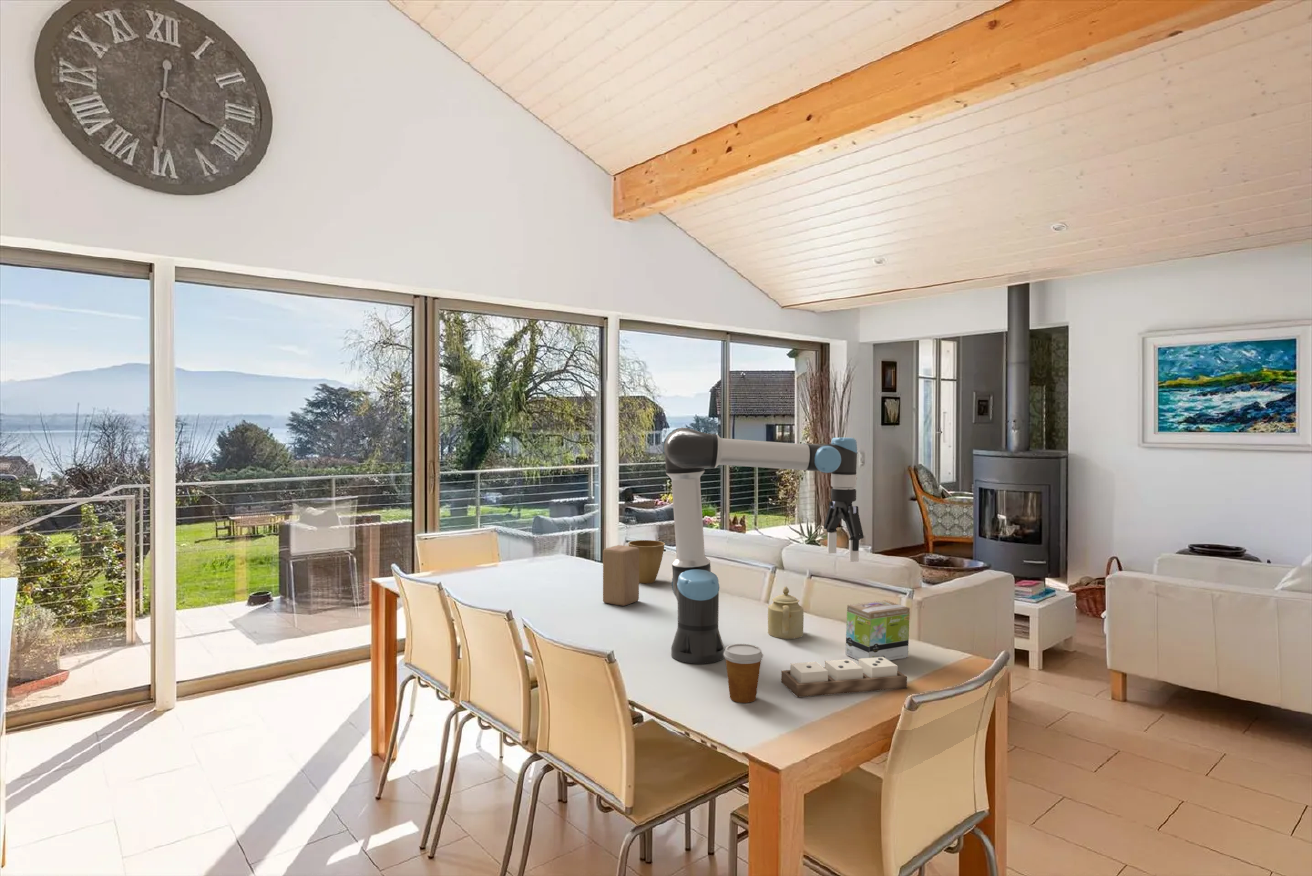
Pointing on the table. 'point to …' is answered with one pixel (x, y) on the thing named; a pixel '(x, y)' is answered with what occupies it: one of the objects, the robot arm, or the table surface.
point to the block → (620, 575)
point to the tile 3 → (878, 667)
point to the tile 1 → (808, 672)
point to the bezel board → (843, 685)
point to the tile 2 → (843, 669)
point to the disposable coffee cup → (743, 671)
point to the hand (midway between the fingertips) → (842, 557)
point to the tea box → (877, 630)
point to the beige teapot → (785, 617)
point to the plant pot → (648, 559)
